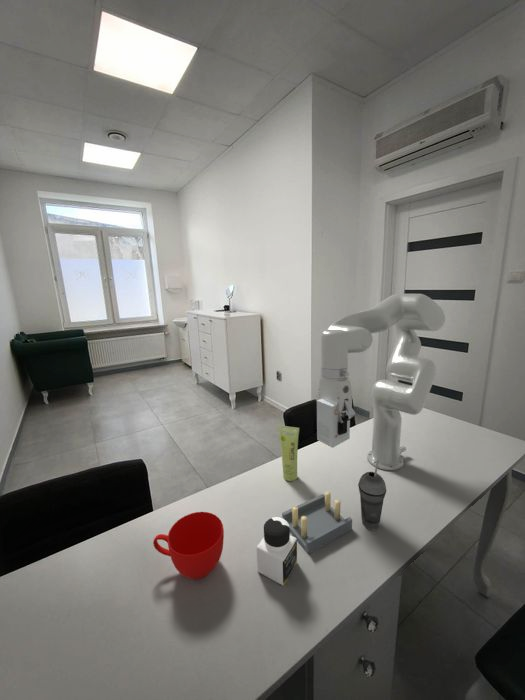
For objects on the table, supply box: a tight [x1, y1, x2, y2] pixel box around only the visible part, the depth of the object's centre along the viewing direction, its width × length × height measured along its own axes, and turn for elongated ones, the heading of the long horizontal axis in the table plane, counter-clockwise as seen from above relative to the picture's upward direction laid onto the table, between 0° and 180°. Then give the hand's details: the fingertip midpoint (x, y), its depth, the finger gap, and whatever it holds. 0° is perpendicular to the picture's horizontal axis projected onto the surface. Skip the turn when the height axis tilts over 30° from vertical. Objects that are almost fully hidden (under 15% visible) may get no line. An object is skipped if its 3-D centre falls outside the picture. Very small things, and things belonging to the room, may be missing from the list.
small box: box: [316, 399, 351, 448], centre depth 90 cm, size 8×6×13 cm
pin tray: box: [281, 491, 353, 555], centre depth 83 cm, size 15×12×7 cm
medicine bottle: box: [256, 516, 298, 586], centre depth 71 cm, size 7×7×12 cm
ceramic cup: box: [152, 511, 225, 580], centre depth 72 cm, size 13×17×10 cm
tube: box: [277, 424, 300, 482], centre depth 103 cm, size 6×5×20 cm
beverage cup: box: [357, 461, 387, 531], centre depth 82 cm, size 7×7×20 cm
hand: (333, 428), depth 91 cm, fingers closed on small box, 6 cm apart
